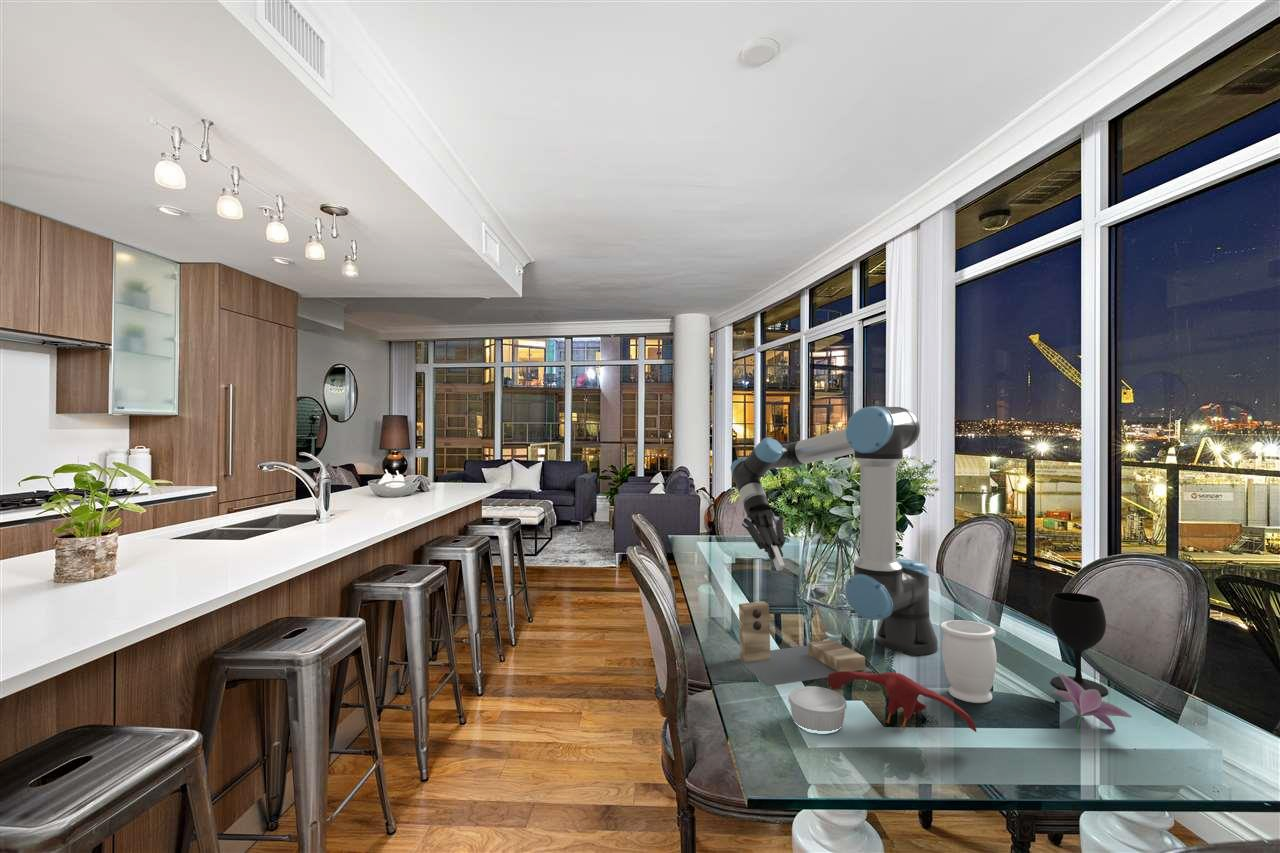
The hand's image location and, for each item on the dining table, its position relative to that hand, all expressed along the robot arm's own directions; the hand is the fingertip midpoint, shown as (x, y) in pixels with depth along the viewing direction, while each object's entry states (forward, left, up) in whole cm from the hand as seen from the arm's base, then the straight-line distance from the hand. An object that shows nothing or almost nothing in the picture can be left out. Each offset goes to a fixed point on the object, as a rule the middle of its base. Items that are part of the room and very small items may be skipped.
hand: (780, 568), depth 165 cm
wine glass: (-66, -13, -21) cm, 70 cm away
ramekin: (-27, +38, -21) cm, 51 cm away
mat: (-11, +12, -21) cm, 26 cm away
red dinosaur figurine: (-40, +28, -21) cm, 53 cm away
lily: (-69, +8, -21) cm, 72 cm away
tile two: (-1, +17, -20) cm, 26 cm away
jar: (-48, +6, -21) cm, 52 cm away
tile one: (-12, +3, -19) cm, 22 cm away
